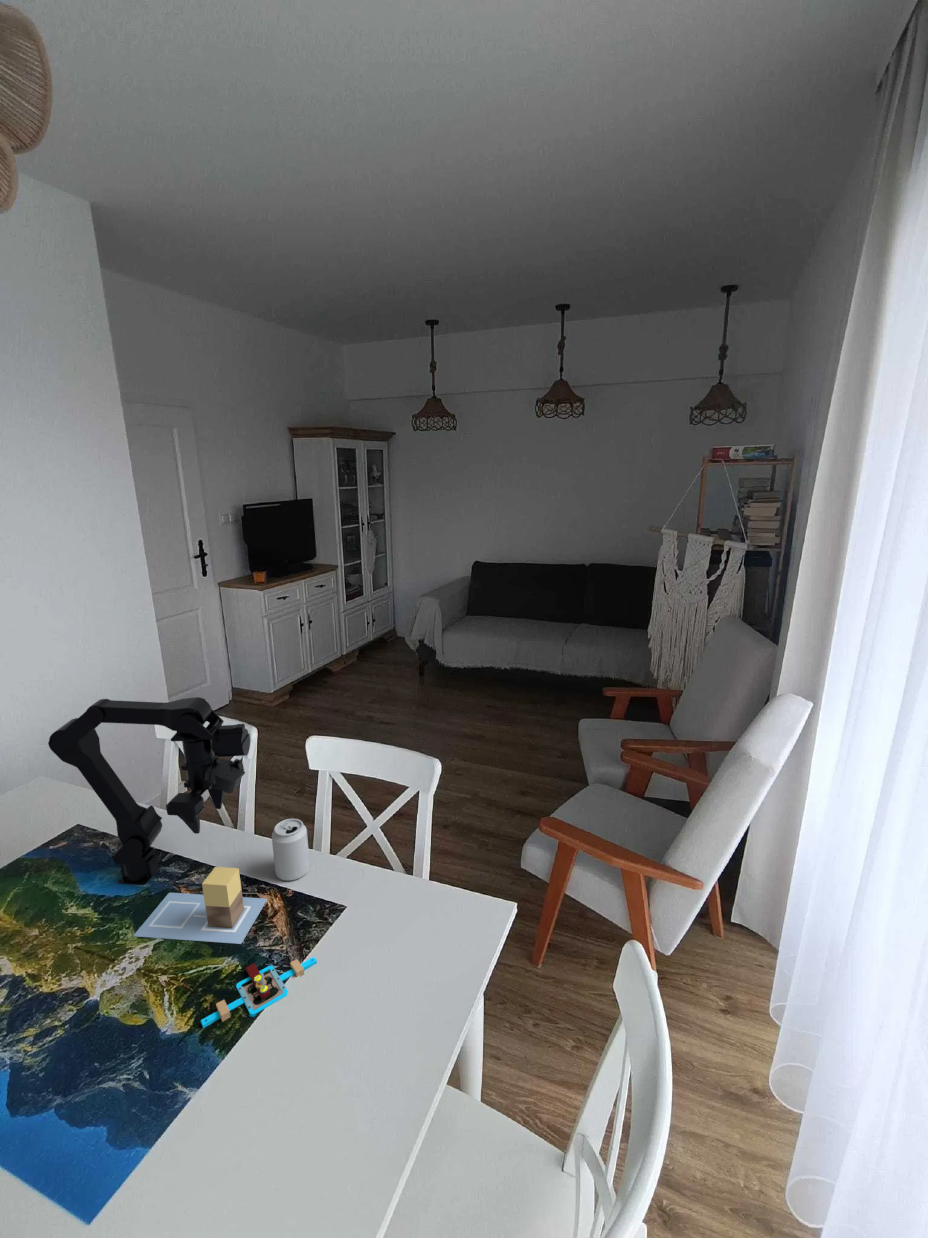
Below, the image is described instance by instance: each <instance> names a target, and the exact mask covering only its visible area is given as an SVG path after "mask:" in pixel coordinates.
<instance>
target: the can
mask: <svg viewBox="0 0 928 1238" xmlns="http://www.w3.org/2000/svg"><path fill="white" fill-rule="evenodd" d="M303 822H304V821H301V819H298V818H287V819H284V820H281V821H280V822H278V823H277V824H276V825H275V826H274V828H273V832H272V833H271V843H272V844H271V845H272V853H273V860H274V862H273V863H274V870H275V871H274V873H275V876H276V877H277V878H278V879H280V880H282V881H286V882H287V881H288V882H290V881H295V880H299V879H300V878H302V877H303V876H305V875H306V874H308V872H309V871H310V867H311V862H310V851H309V841H308V828H307V827H306V826H305V825H304V823H303Z"/></svg>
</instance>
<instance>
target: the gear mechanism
mask: <svg viewBox="0 0 928 1238" xmlns="http://www.w3.org/2000/svg"><path fill="white" fill-rule="evenodd" d="M289 964H290V968H291V969H289V970H287V971H286V972H284V973H282V974H280V975H279V974H278V972H277V970H276V968H275V967H274V966H273V965H268V966H266V967H265V968H263V969H260V970H259V969H258V967H257V965H256V964H255V962H254V963H252V964H250V965H248V966H247V967H245V971H246V973H247V974H248V977H246V978H244V979H242V980H241V981H239V982H237V984H236V985H235V987H236V989H237V991H238V994H239V995H240V998H238V999H236V1000H234V1001H232V1002H231V1003H228V1004H227V1002H226V1000H225V999H223V1000H220V1001H218V1002H217V1003H215V1005H216V1007H215V1008H216V1009H217V1011H215V1012H213V1013H211V1014H208V1015H207V1016H205V1018H202V1019H201V1020H200V1024H201V1026H202V1028H203V1029H204V1028H206V1027H208V1026H210V1025H211V1024H213V1023H215V1022H217V1021H219V1020H221V1022H224V1021H227V1020H228V1019H229V1018H231V1012H230V1011H232V1010H234V1009H236V1008H237V1007H239V1006H242V1005H243V1004H244V1005H245V1007H246V1009H247V1011H248V1013H249V1014H248V1015H249V1017H250V1018H255V1017H256V1016H257V1014H258V1013H260V1012H261V1011H264V1010H265V1009H267V1008H268V1007H270V1006H272V1005H274V1004H275V1003H277V1002H279V1001H280V1000H282V999H283V998H285V997H287V996H288V994H289V990H288V988H286V986H285V984H284V982H283V981H285V980H287V979H288V978H291V977H292V976H294V975H296V977H300V978H301V977H303V976H304V975H305V971H306V970H308V969H309V968H311V967H313V966H315V965H317V964H318V962H317V959H316V957H315V956H313V957H312V956H311V958H309V959H307V960H305V961H303V962H301V963H300V961H299V960H298V958H295V959H294V960H292V961H291V962H290V963H289ZM268 971H270V972H268ZM266 972H268V973H267V974H264V973H266ZM267 978H271V983H268V984H267V982H268V981H267V980H266V979H267ZM250 981H251V982H250ZM248 982H250V983H249V984H247V985H245V986H242V985H244V984H246V983H248ZM252 986H254V988H255V989H256V992H254V993H251V992H250V993H249V992H248V989H249V988H250V987H252ZM274 988H275V989H277V990H278V992H277V993H276V994H275V995H273V996H272V997H269V996H270V995H271V990H272V989H274ZM259 996H260V999H261V1000H265V1001H263V1002H261V1003H259V1004H255V1003H254V1000H255V998H258V997H259ZM267 998H269V999H267ZM266 999H267V1000H266Z"/></svg>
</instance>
